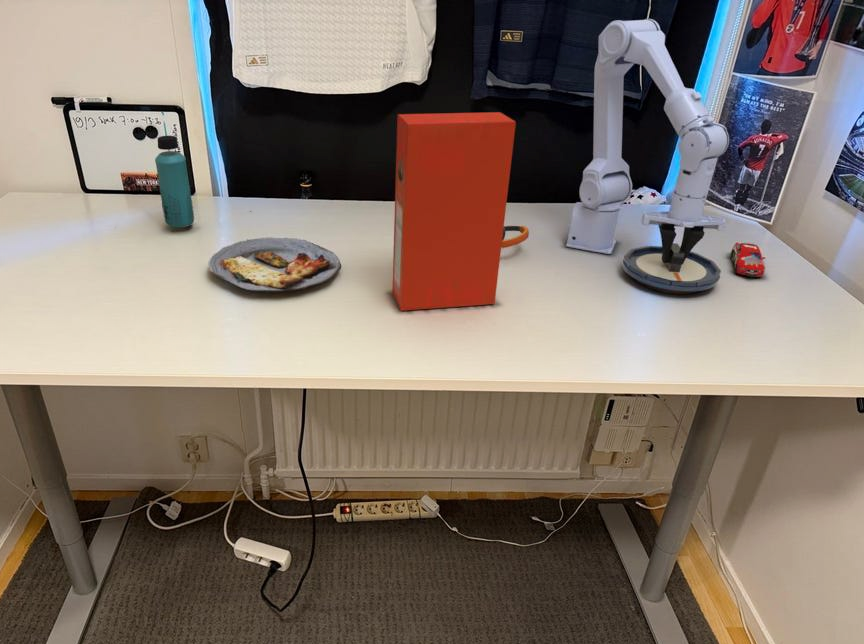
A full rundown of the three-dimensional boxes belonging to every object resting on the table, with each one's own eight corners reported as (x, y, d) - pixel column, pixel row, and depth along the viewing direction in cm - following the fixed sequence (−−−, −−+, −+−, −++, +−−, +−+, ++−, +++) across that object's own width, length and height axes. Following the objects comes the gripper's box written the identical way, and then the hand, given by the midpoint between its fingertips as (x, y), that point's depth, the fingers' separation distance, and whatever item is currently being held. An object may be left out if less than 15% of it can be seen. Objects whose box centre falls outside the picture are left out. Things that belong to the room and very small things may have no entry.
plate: (613, 250, 141) (618, 228, 139) (702, 255, 140) (709, 233, 138) (633, 288, 126) (638, 264, 124) (732, 294, 125) (740, 270, 123)
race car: (763, 282, 134) (770, 263, 132) (733, 277, 136) (739, 259, 134) (756, 256, 145) (762, 239, 143) (729, 252, 146) (734, 235, 144)
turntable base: (629, 285, 131) (630, 278, 131) (637, 261, 141) (638, 254, 141) (701, 299, 127) (703, 292, 126) (704, 273, 137) (706, 266, 136)
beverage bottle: (202, 227, 152) (190, 135, 141) (179, 236, 147) (166, 142, 137) (181, 221, 155) (168, 131, 144) (158, 229, 150) (143, 137, 140)
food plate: (363, 274, 133) (364, 257, 131) (270, 313, 118) (268, 295, 117) (281, 239, 147) (280, 223, 145) (188, 270, 133) (186, 253, 131)
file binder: (391, 291, 127) (397, 113, 110) (480, 285, 130) (499, 111, 113) (401, 312, 120) (408, 125, 103) (494, 305, 123) (516, 122, 106)
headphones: (456, 213, 155) (540, 211, 144) (459, 236, 158) (542, 235, 147) (420, 236, 143) (508, 236, 132) (424, 260, 146) (511, 262, 135)
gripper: (653, 197, 123) (637, 267, 130) (738, 203, 121) (716, 273, 128) (646, 185, 128) (631, 252, 136) (727, 191, 127) (707, 258, 134)
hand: (672, 261), depth 132 cm, fingers closed
